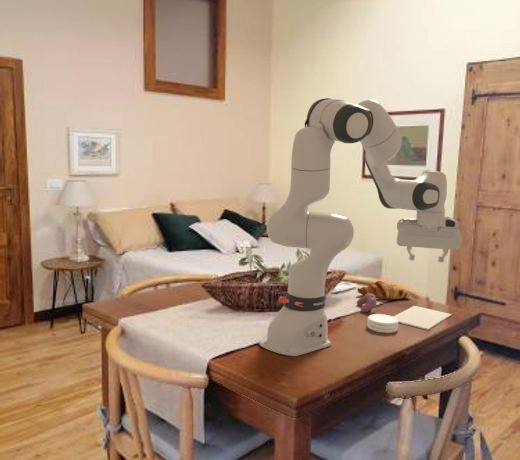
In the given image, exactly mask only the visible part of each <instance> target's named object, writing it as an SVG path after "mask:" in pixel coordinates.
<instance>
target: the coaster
mask: <svg viewBox="0 0 520 460" xmlns="http://www.w3.org/2000/svg"><path fill="white" fill-rule="evenodd" d="M393 316H394V315H393ZM393 316H392V315H388V314H384V313H383V314H382V313H375V314H374V313H373V314H370V315H368V316H367V321H366V322H367V323H366V326H367V329H369V330H370V331H374V332H378V333H383V334H391V333H396V332H397V331H398V330H399V323H398V319H397V318H395V317H393Z"/></svg>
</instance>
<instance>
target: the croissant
mask: <svg viewBox="0 0 520 460" xmlns="http://www.w3.org/2000/svg"><path fill="white" fill-rule="evenodd" d="M357 293H359V294H361V295H362V296H364V295H365V294H367V293H371V294H374V295H375V297H376V298H378V299H377V300H384V299H387V300H386V301H389V300H401V299H408V298H410V297H411V292H408V291H407V290H406V289H404V288H401V287H398V286H397V285H396V284H390V285H389V284H388V282H386V281H382V280H377V281H375V282H374V283H371V284H369V285H368V286H362V287H358V288H357Z"/></svg>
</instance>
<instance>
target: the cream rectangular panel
mask: <svg viewBox="0 0 520 460" xmlns="http://www.w3.org/2000/svg"><path fill="white" fill-rule="evenodd" d="M451 316H452V313H447V312H444V311H440V310H435V309H430V308H425V307H421V306H417V305H413V306H411V307H409V308H407V309H405V310H404V311H401V312H399V313H397V314H395V315H393V317H395V318H397V319H398V324H401V325H402V324H403V325H405V326H406V325H407V326H409V327H415V328H418V329H422V330H425V331H426V330H427V331H429V330H431V329H432V328H435V326H437V325H439V324H440V323H442V322H443V321H444V320H447V319H448V318H449V317H451Z"/></svg>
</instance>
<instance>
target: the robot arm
mask: <svg viewBox="0 0 520 460" xmlns="http://www.w3.org/2000/svg"><path fill="white" fill-rule="evenodd" d="M335 142H339V143H342V144H356V143H360V144H361V146H362V147H363V149H364V151H363V160H364V162H365V166H366V167H367V169H368V171H369V174H370V176H371V179H372V181H373V183H374V185H375V187H376V191H377V193H378V199H379V201H380V203H381V205H382V206H383V207H384V208H386V209H393V210H394V209H395V210H396V209H398V210H399V209H400V210H407V211H416V216H415V218H402V219H399V220H398V221H397V224H396V229H397V231H398V232H397V235H396V245H398V246H399V247H406V250H407V252H408V255H409V257H408V258H409V259H408V260H409V261H415V254H413V253H412V250H413V249H412V248H422V249H423V248H424V249H425V248H426V249H438V250H442V252H443V253H442V255H441V256H438V258H437V261H438V263H444V262H445V258H446V256H447V255H448V254H449V250H450V251H451V250H453V251H458V250H459V249H460V248H461V242H462V241H461V240H462V238H461V232H460V230H459V229H458V228H459V226H460V225H459V221H457V220H456V219H453V218H451V217H449V216H446V215H445V214H446V209H445V203H446V200H447V193H448V179H447V175H446V174H445V173H444V172H442V171H438V170H432V169H431V170H430V169H429V170H428V169H427V170H423V171H422V173H421V175H420V176H418V177H416V178H415V179H401V178H397V177H394V175H393V174H391V170H390V169H389V167H388V164H387V162H389V161H391V160H393V158H394V157H396V155H397V154H398V153H399V152H400V150H401V147H402V144H403V137H402V135H401V132H400V129H399V128H398V126H397V125H396V123H395V122H394V119H393V118H392V117H391V115H390V113H388V111H387V110H386V109H385V108H384V106H382V104H381V103H380V102H378V101H377V100H375V99H365V100H362V101H360V102H359V103H351V102H348V101H346V100H344V99H343V100H342V99H336V98H334V99H333V98H327V97H326V98H321V99H317V100H316V101H315V102H313V103H312V104H311V106H310V107H309V109H308V112H307V115H306V119H305V122H304V127H303V128H301V129H299V130H298V131H297V132H296V133H295V135H294V140H293V144H292V151H291V159H290V160H291V161H290V162H291V164H290V165H291V166H290V169H291V170H290V171H291V172H290V186H289V188H290V189H289V193H288V197H287V199H286V201H285V202H284V203H283V205H282V206H281V207H280V208H278V209H277V210H276V211H274V212H273V213H272V214H271V215H270V217H269V219H268V220H267V224H266V234H267V236H268V239H269V240H270V242H272V243H273V244H276V245H280V246H283V247H288V248H289V247H290V248H297V249H298V248H300V249H307V250H309V251H310V252H309V255H308V256H307V257H304V258H301V259H299V260H297V261H295V262H294V263H292V264H291V265H290V267H289V269H288V281H287V282H288V285H287V291H286V294H285V296H281V295H279V298H278V303H279V304H283V306H282V307H281V309H280V310H279V311H278V313H277V314H276V315H275V316H274V318H272V320H271V321H270V322H269V324H268V327H267V333H266V334H267V335H265V336H264V337H261V339H259V341H258V345H259V346H260V347H262V348H263V349H266V350H268V351H271V352H274V353H277V354H279V355H285V356H290V357H298V356H301V355H305V354H308V353H311V352H315V351H317V350H321V349H325V348H327V347H330V346H331V345H332V344H331V340H329V337H328V336H329V331H328V330H329V329H328V328H329V327H328V316H327V314H326V311H325V307H326V302H327V297H326V292H325V288H326V279H327V274H328V269H329V267H330V265H331V263H332V261H333V260H334V259H335V257H336V256H338V254H339V253H341V252H342V251H344V250H346V249H347V248H348V247H349V246H350V245H351V243H352V241H353V239H354V235H355V234H354V232H355V231H354V230H355V229H354V226H353V223H352V221H351V220H350V218H349V217H347V216H344V215H340V214H336V213H332V212H330V213H329V212H318V211H317V212H316V211H310V210H309V206H311V205H312V204H315V203H317V202H320V201H322V200H323V199H325V198H326V197H327V196H328V195H329V194H330V193H329V192H330V187H331V186H330V185H331V152H332V150H333V149H332V148H333V146H334V144H335Z"/></svg>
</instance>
